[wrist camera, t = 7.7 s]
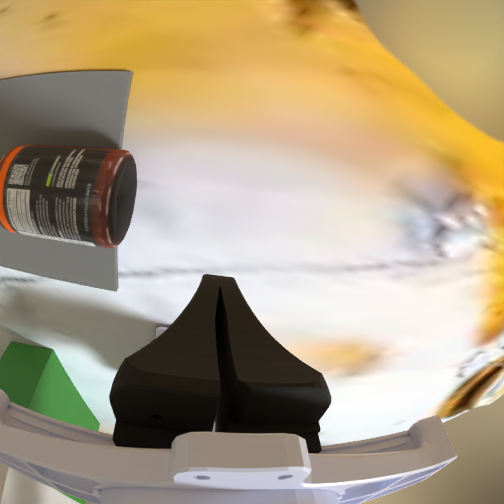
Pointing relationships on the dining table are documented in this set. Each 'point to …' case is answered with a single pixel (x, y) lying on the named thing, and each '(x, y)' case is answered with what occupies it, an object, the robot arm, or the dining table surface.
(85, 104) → the mat
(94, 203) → the supplement bottle
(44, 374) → the hardback book
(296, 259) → the dining table surface
